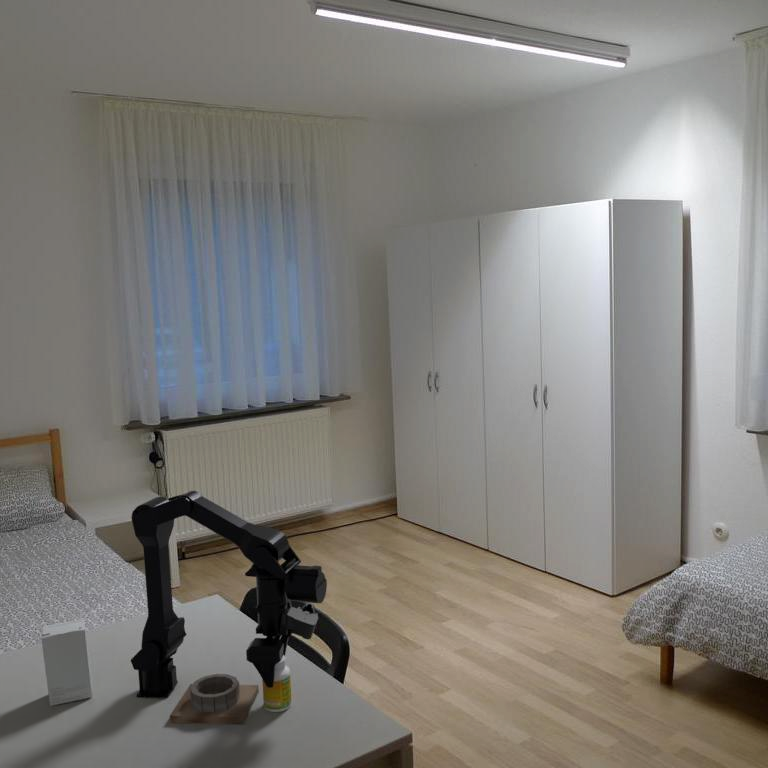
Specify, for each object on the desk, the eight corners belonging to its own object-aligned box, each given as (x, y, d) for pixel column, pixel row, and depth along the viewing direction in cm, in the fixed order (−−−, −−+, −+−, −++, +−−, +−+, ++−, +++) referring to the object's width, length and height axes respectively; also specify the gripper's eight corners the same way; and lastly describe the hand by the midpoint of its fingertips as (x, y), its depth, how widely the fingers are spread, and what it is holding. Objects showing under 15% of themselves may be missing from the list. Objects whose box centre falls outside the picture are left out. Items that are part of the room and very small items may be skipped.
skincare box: (92, 685, 168) (86, 617, 166) (92, 699, 162) (86, 628, 160) (48, 693, 165) (42, 624, 163) (47, 707, 159) (41, 636, 157)
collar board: (170, 722, 152) (168, 700, 152) (190, 690, 164) (189, 669, 164) (243, 724, 151) (241, 701, 151) (258, 692, 163) (257, 670, 162)
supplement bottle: (286, 714, 154) (284, 665, 153) (259, 711, 155) (257, 663, 154) (295, 699, 160) (293, 652, 158) (269, 697, 161) (266, 651, 159)
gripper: (304, 618, 145) (308, 701, 147) (321, 580, 163) (324, 653, 165) (243, 618, 146) (247, 699, 148) (267, 580, 164) (271, 653, 166)
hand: (275, 675), depth 157 cm, fingers open, 9 cm apart
